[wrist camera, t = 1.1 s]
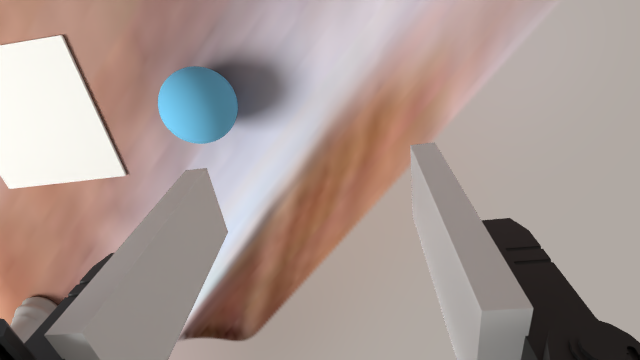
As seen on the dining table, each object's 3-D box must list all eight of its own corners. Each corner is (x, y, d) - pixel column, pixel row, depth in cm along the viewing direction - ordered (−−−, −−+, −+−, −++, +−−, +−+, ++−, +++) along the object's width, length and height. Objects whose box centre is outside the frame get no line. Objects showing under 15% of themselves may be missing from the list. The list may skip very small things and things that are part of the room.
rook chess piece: (54, 294, 41) (-6, 359, 34) (69, 321, 43) (15, 387, 36) (18, 293, 41) (-49, 357, 34) (34, 320, 43) (-26, 385, 36)
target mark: (-73, 57, 28) (-76, 58, 28) (62, 34, 27) (60, 35, 26) (11, 187, 34) (9, 188, 33) (126, 174, 32) (125, 175, 32)
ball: (196, 44, 26) (163, 57, 22) (258, 89, 28) (240, 110, 23) (166, 102, 29) (130, 125, 24) (224, 140, 30) (202, 169, 25)
